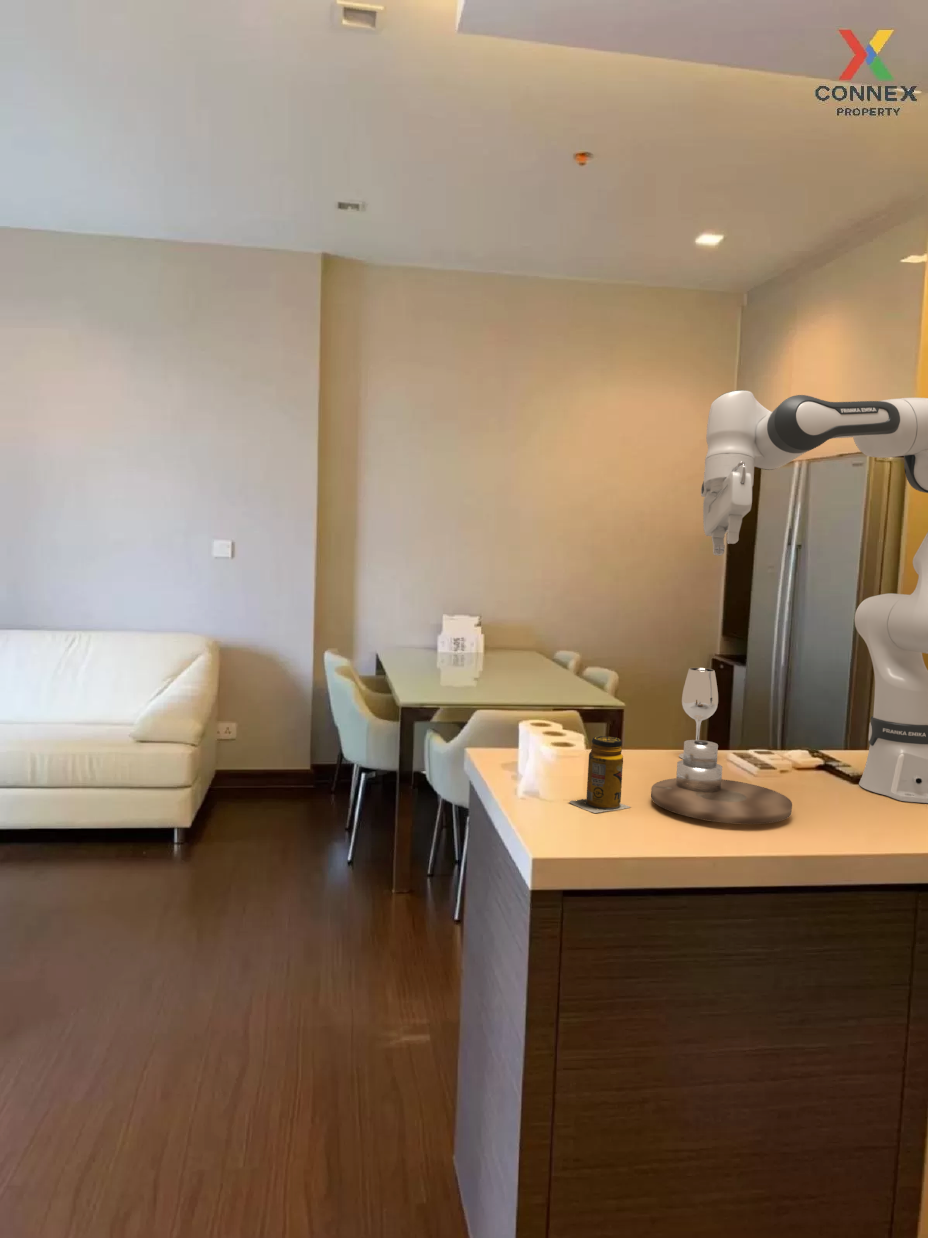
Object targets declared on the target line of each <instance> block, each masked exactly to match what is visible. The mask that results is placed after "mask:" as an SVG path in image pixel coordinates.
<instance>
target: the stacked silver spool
mask: <svg viewBox="0 0 928 1238" xmlns="http://www.w3.org/2000/svg"><path fill="white" fill-rule="evenodd" d="M718 748H719V745H718V743H716V742H713V741H709V740H701V739H699V740H696V739H688V740H687V739H686V740H685V741H683V753H684V754H683V759H681V760H679V761H677V764H676V785H677V786H678V787H680V788H682V789H686V790H690V791H696V792H717V791H720V790H721V780H722V779H723V776H722V775H723V766H722V765H721V764H718V750H719V749H718Z"/></svg>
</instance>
